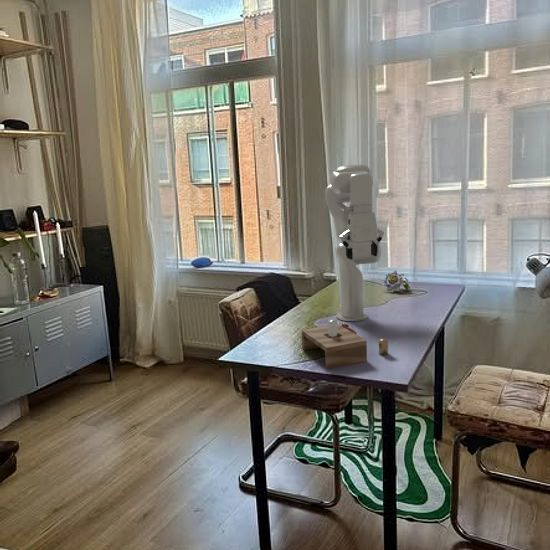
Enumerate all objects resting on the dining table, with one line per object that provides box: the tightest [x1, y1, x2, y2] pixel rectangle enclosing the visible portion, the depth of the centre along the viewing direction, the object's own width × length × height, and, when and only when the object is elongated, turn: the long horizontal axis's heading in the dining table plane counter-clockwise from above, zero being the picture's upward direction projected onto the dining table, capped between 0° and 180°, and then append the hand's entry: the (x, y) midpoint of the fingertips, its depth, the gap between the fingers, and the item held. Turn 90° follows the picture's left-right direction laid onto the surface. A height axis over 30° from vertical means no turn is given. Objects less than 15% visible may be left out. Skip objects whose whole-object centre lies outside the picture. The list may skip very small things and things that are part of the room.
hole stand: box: [301, 324, 368, 370], centre depth 177 cm, size 20×14×7 cm
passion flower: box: [380, 270, 411, 294], centre depth 256 cm, size 11×11×12 cm
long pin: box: [327, 318, 338, 338], centre depth 176 cm, size 3×3×12 cm
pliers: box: [337, 320, 358, 335], centre depth 201 cm, size 12×20×3 cm, turn 173°
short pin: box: [378, 337, 389, 356], centre depth 175 cm, size 3×3×5 cm
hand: (361, 257), depth 189 cm, fingers open, 9 cm apart
